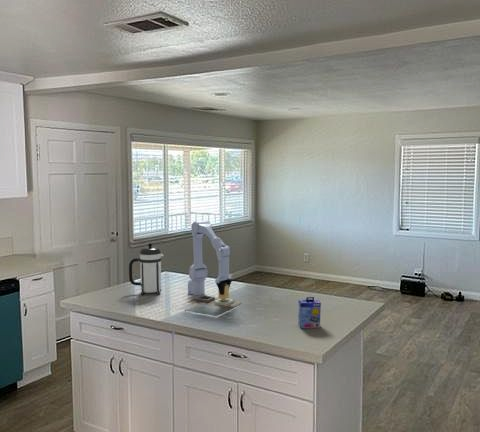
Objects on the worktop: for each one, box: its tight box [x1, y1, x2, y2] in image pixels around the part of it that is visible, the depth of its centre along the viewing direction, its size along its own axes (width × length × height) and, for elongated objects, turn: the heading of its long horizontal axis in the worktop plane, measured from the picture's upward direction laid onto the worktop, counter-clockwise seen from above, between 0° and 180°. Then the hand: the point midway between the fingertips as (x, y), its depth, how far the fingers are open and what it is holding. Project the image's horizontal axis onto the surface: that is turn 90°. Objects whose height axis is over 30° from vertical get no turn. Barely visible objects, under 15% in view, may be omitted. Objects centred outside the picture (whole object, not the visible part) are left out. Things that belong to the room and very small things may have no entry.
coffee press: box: [128, 242, 165, 296], centre depth 284 cm, size 17×16×30 cm
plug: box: [218, 283, 230, 299], centre depth 260 cm, size 4×4×8 cm
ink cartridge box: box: [297, 296, 322, 329], centre depth 225 cm, size 10×6×14 cm, turn 95°
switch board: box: [188, 295, 243, 311], centre depth 263 cm, size 26×14×1 cm, turn 61°
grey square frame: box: [196, 294, 216, 303], centre depth 266 cm, size 8×8×2 cm
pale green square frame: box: [214, 298, 235, 306], centre depth 260 cm, size 8×8×2 cm
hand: (224, 293), depth 260 cm, fingers closed on plug, 4 cm apart
